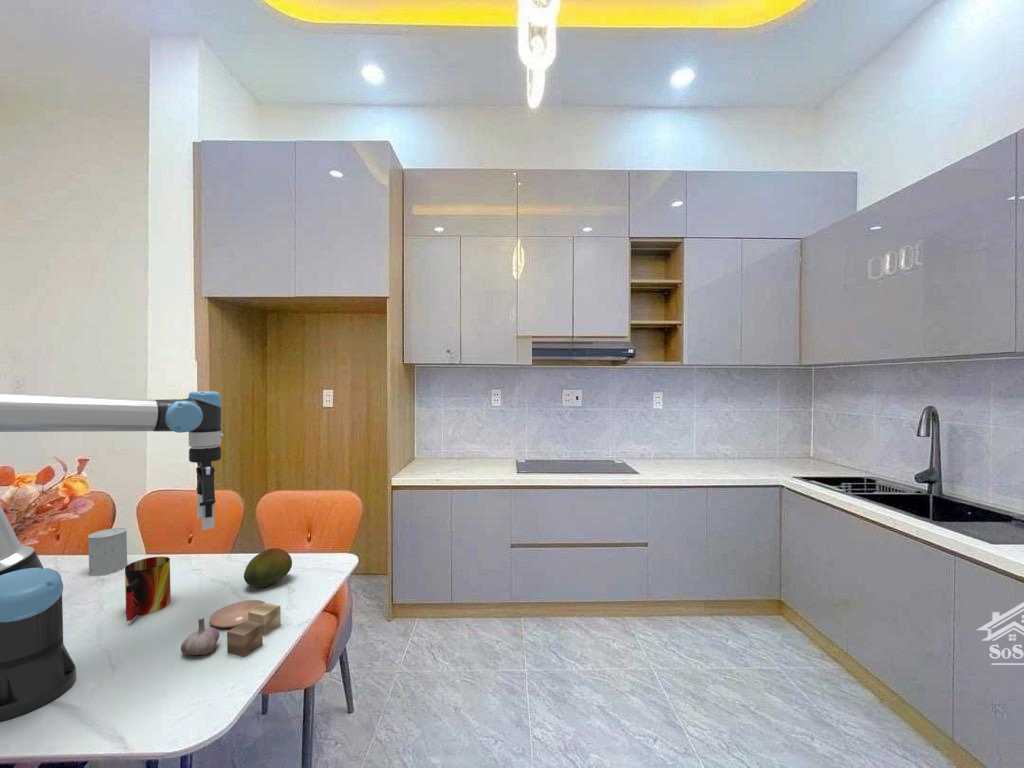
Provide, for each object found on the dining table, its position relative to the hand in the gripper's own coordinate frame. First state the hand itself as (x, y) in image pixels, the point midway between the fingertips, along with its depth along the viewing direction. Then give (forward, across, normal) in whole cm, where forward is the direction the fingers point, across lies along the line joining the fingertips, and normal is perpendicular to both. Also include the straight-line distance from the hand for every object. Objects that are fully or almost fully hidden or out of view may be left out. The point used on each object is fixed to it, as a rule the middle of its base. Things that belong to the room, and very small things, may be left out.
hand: (205, 522), depth 127 cm
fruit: (+22, +2, -16) cm, 27 cm away
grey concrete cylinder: (+23, +47, +22) cm, 57 cm away
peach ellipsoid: (+22, -15, -6) cm, 27 cm away
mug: (+23, +6, +12) cm, 26 cm away
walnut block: (+22, -32, -5) cm, 39 cm away
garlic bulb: (+23, -26, +3) cm, 35 cm away
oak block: (+22, -25, -10) cm, 35 cm away
